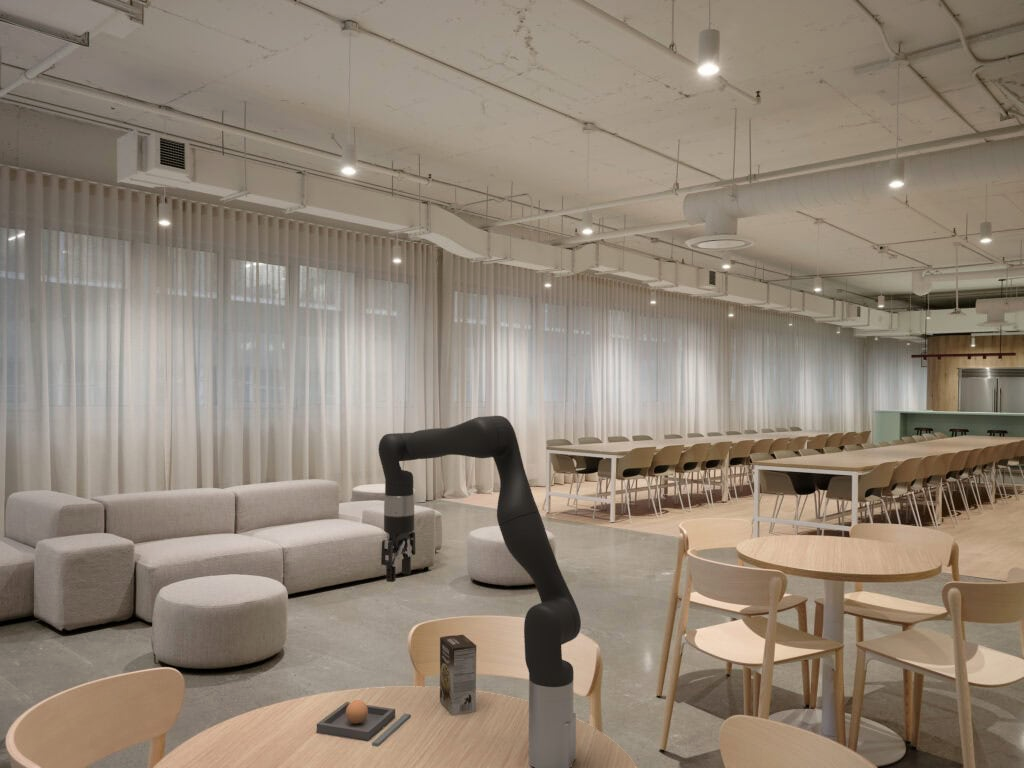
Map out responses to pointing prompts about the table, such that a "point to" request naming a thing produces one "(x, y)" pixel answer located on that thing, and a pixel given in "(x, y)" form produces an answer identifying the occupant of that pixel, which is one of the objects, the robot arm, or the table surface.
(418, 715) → the table surface
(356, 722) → the ball
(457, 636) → the coffee box
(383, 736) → the distance line
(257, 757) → the table surface
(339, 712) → the tray
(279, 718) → the table surface
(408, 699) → the table surface
